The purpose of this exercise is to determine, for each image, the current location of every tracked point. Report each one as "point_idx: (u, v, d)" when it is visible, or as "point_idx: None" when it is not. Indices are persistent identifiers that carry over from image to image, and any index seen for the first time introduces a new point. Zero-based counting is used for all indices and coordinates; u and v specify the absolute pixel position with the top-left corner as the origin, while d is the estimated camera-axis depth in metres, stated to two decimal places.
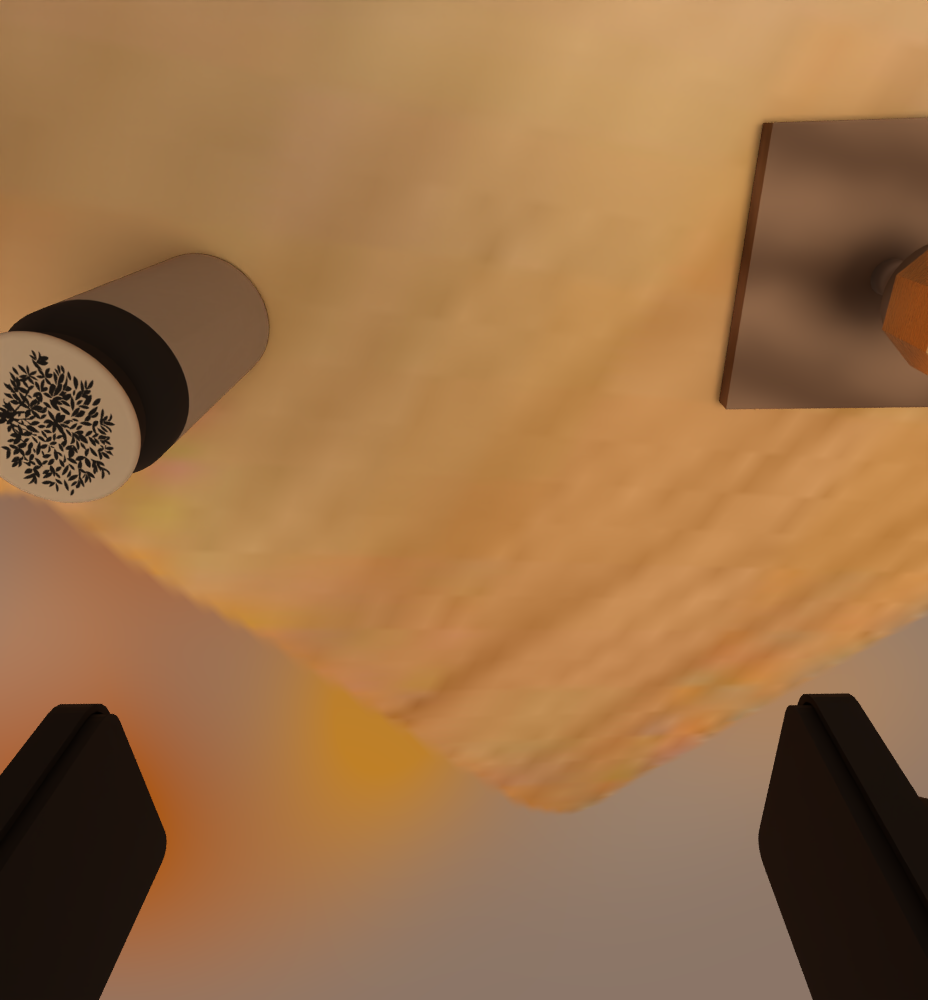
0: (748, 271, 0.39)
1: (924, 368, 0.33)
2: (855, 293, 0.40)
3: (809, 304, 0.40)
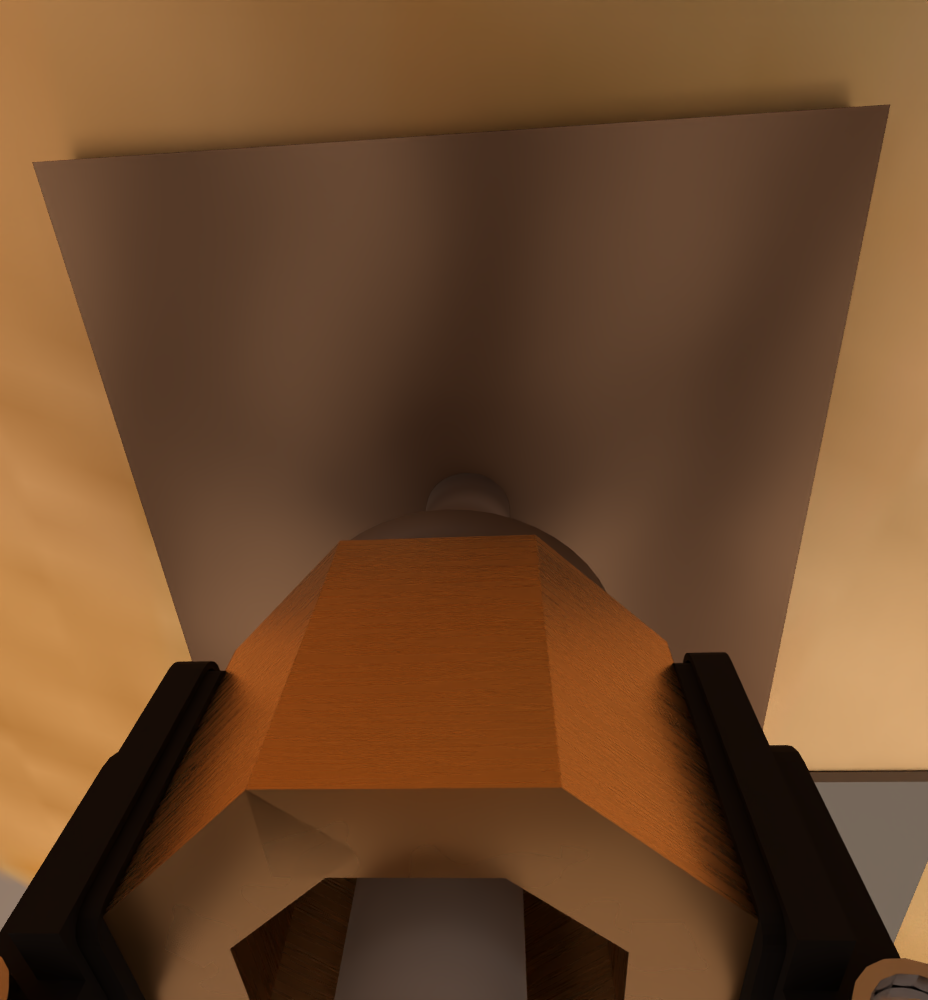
0: (467, 133, 0.13)
1: (208, 730, 0.08)
2: (424, 448, 0.16)
3: (387, 342, 0.15)
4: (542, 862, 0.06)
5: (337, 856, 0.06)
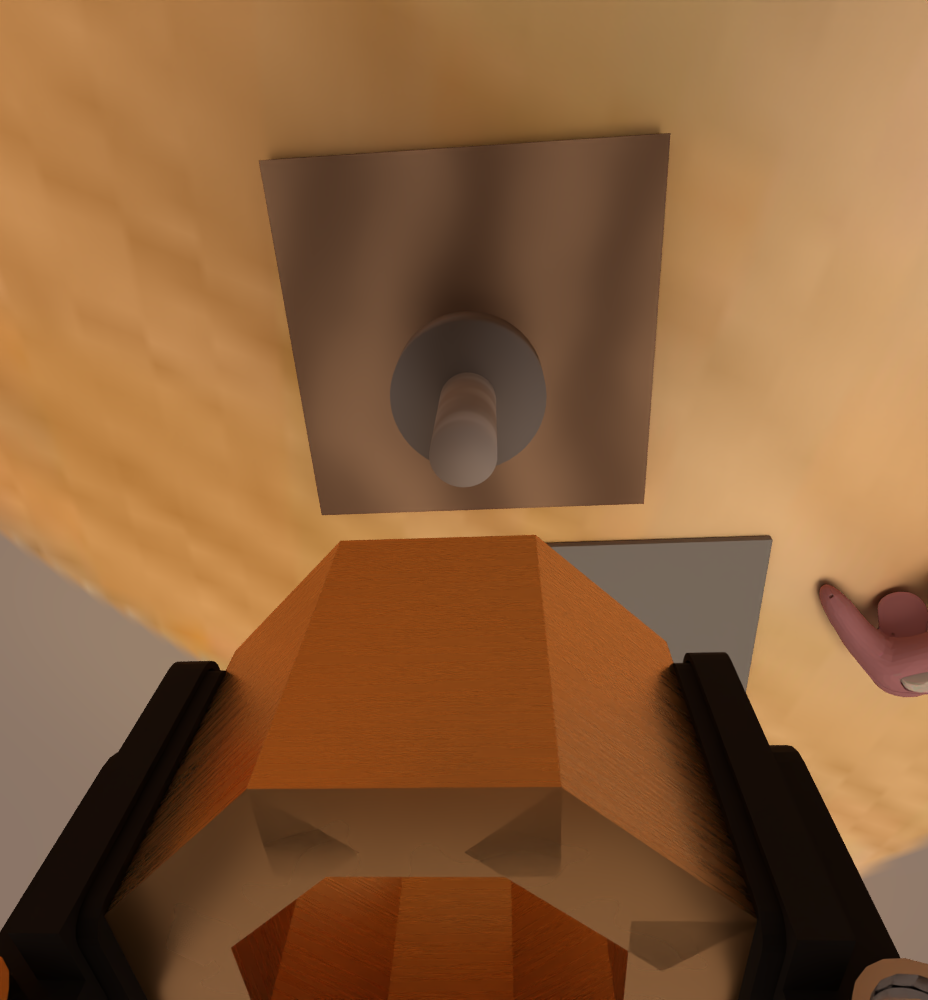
0: (472, 146, 0.26)
1: (209, 730, 0.08)
2: (449, 313, 0.29)
3: (430, 253, 0.28)
4: (542, 861, 0.06)
5: (336, 856, 0.06)
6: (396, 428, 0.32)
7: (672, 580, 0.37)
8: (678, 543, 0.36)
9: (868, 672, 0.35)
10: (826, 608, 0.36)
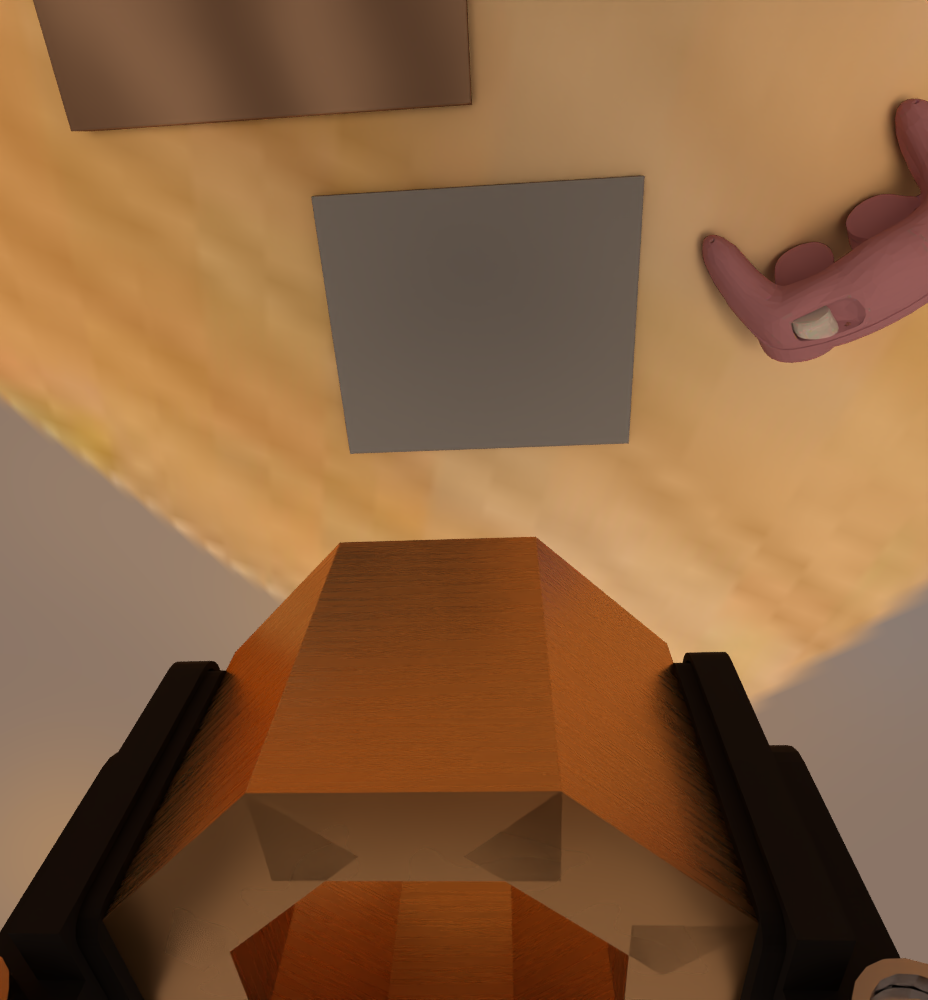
0: None
1: (208, 733, 0.08)
2: None
3: None
4: (542, 866, 0.06)
5: (336, 860, 0.06)
6: None
7: (526, 242, 0.30)
8: (527, 184, 0.28)
9: (757, 333, 0.28)
10: (707, 261, 0.29)
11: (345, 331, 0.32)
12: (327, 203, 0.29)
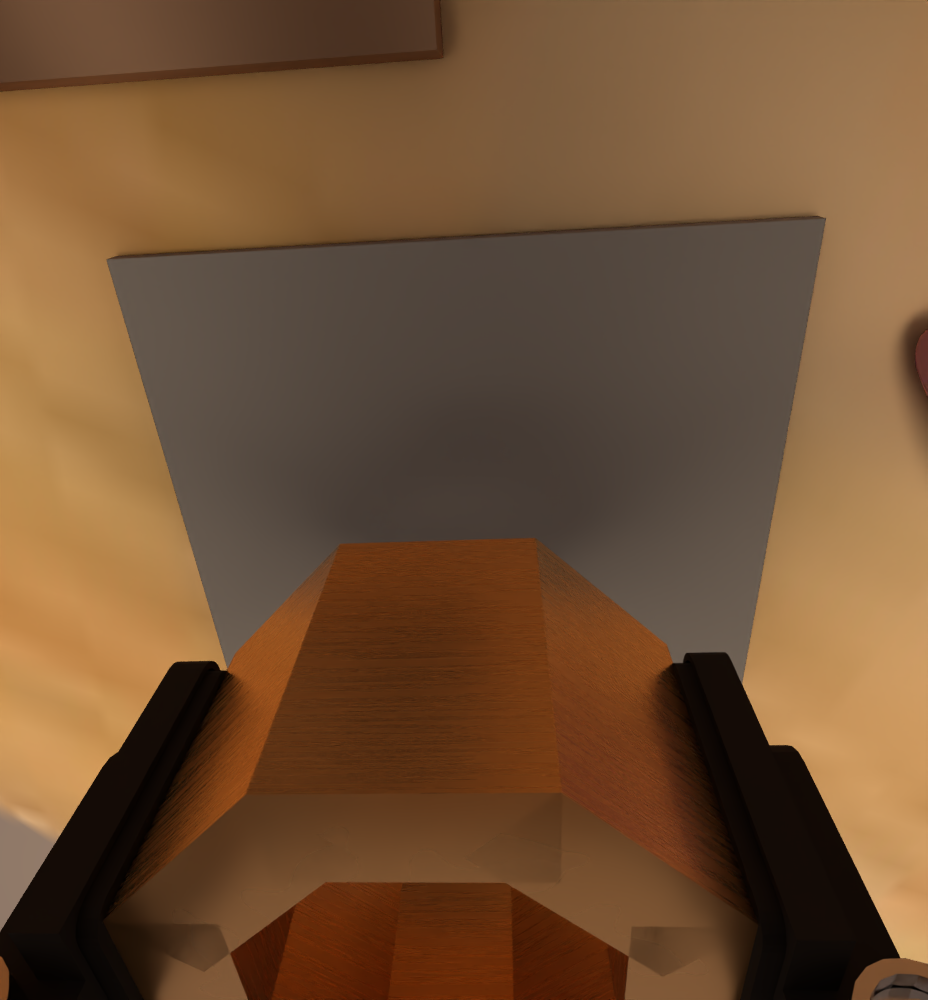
0: None
1: (208, 734, 0.08)
2: None
3: None
4: (542, 867, 0.06)
5: (337, 862, 0.06)
6: None
7: (560, 352, 0.14)
8: (567, 235, 0.13)
9: None
10: None
11: (206, 509, 0.16)
12: (141, 273, 0.14)
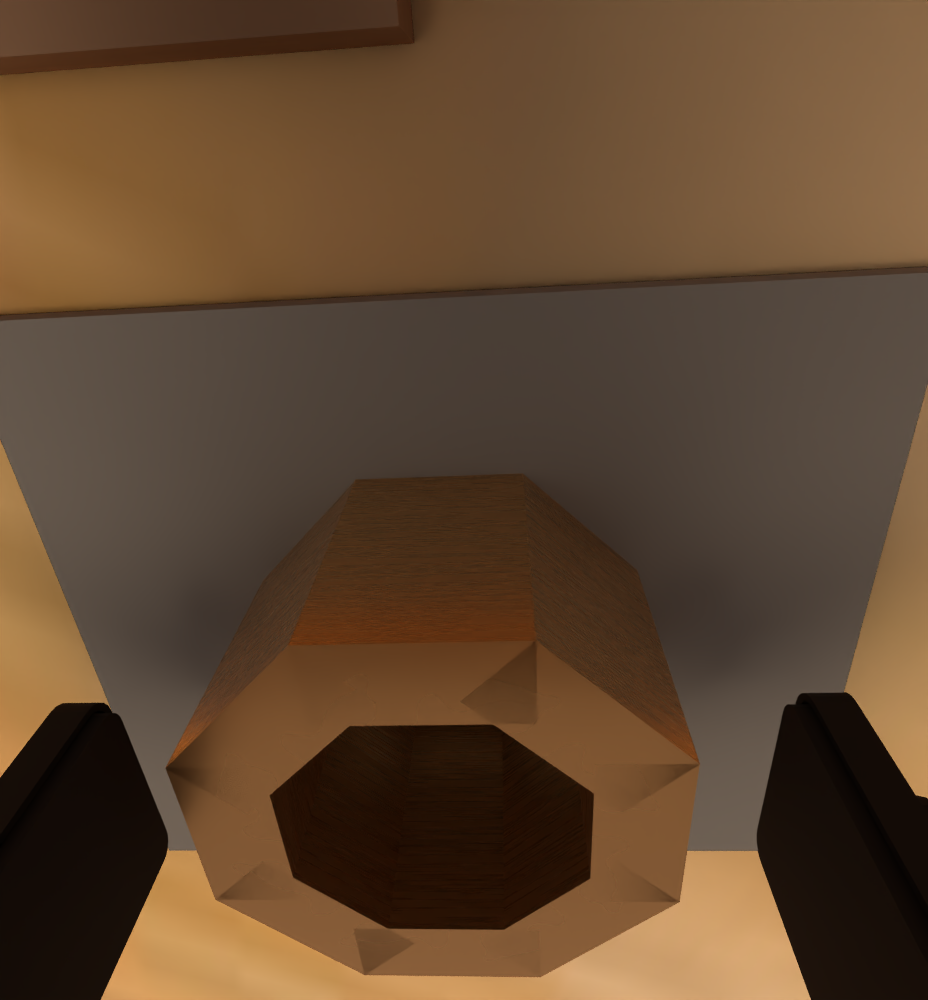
0: None
1: (246, 632, 0.10)
2: None
3: None
4: (522, 709, 0.08)
5: (359, 706, 0.08)
6: None
7: (579, 446, 0.10)
8: (591, 293, 0.09)
9: None
10: None
11: (115, 635, 0.13)
12: (2, 341, 0.10)
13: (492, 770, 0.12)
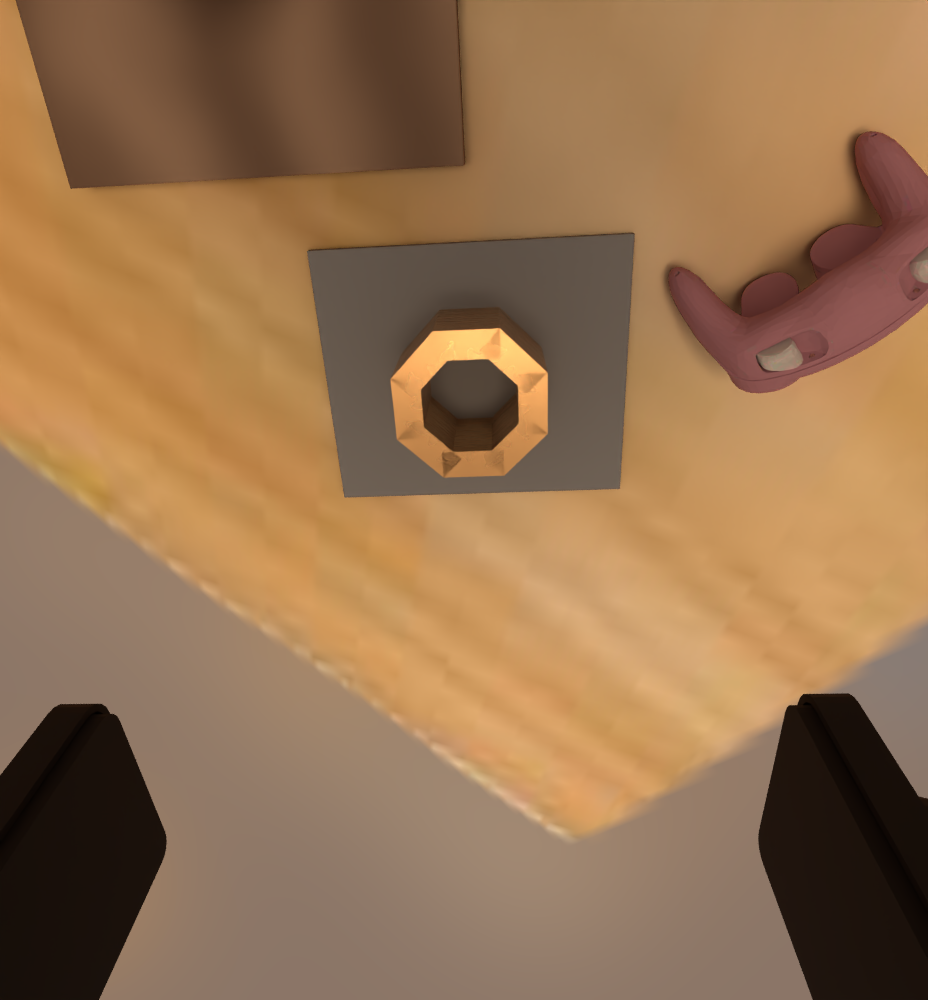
0: None
1: (406, 354, 0.29)
2: None
3: None
4: (496, 353, 0.27)
5: (450, 353, 0.27)
6: (142, 49, 0.25)
7: (518, 296, 0.30)
8: (520, 241, 0.29)
9: (724, 364, 0.28)
10: (673, 293, 0.29)
11: (340, 380, 0.32)
12: (323, 257, 0.30)
13: (487, 427, 0.32)
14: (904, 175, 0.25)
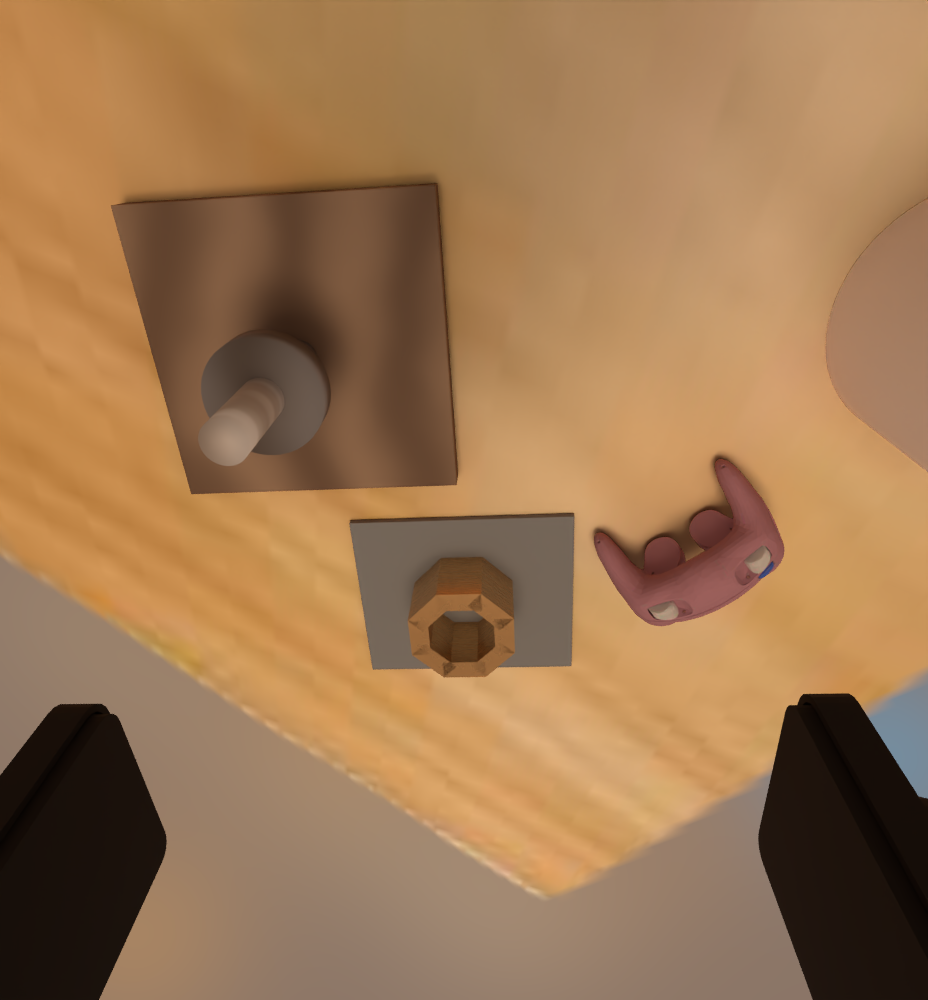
0: (279, 195, 0.33)
1: (418, 594, 0.43)
2: (276, 327, 0.36)
3: (256, 279, 0.35)
4: (479, 607, 0.40)
5: (448, 607, 0.41)
6: None
7: (495, 550, 0.43)
8: (496, 519, 0.42)
9: (630, 606, 0.41)
10: (597, 552, 0.42)
11: (371, 598, 0.45)
12: (360, 527, 0.43)
13: (475, 633, 0.45)
14: (740, 500, 0.38)
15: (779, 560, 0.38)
